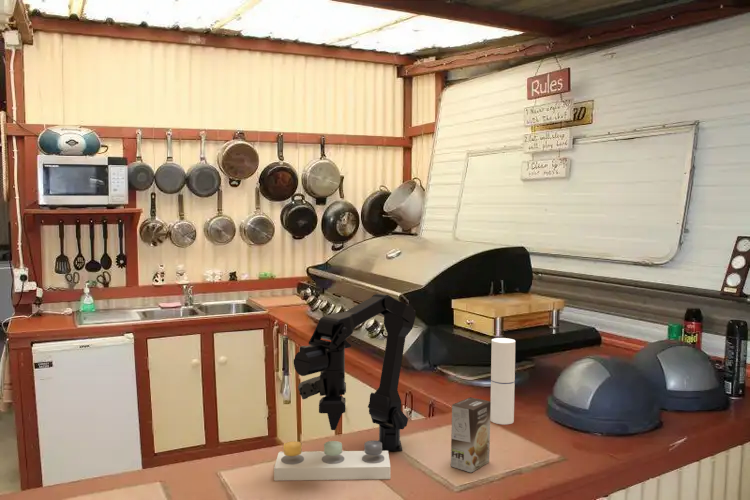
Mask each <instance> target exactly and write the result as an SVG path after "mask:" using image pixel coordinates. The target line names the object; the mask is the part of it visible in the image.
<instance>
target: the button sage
mask: <svg viewBox="0 0 750 500" xmlns="http://www.w3.org/2000/svg"><path fill="white" fill-rule="evenodd" d="M323 448H324V449H323V451H324V453H325V454H326V455H330V456H336V455H339V454H341V453H342V451H343V443H342V442H341V441H338V440H329V441H326V442H324V444H323Z"/></svg>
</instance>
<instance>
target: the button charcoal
mask: <svg viewBox="0 0 750 500" xmlns="http://www.w3.org/2000/svg"><path fill="white" fill-rule="evenodd" d="M363 446H364V448H363V449H364V450H363V451H364V452H365V453H366V454H368V455H379V454H381V453H382V443H381V442H379V441H378V440H367V441H365V442H364V445H363Z"/></svg>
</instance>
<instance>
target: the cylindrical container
mask: <svg viewBox="0 0 750 500" xmlns="http://www.w3.org/2000/svg"><path fill="white" fill-rule="evenodd" d="M490 350H491V354H490V355H491V358H490V359H491V360H490V361H491V363H490V364H491V365H490V402H491V412H490V422H492V423H494V424H497V425H511V424H513V423H514V422H515V387H516V386H515V383H516V382H515V381H516V380H515V378H516V374H515V373H516V340H515V339H513V338H508V337H507V338H506V337H495V338H492V339H491V349H490Z"/></svg>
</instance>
